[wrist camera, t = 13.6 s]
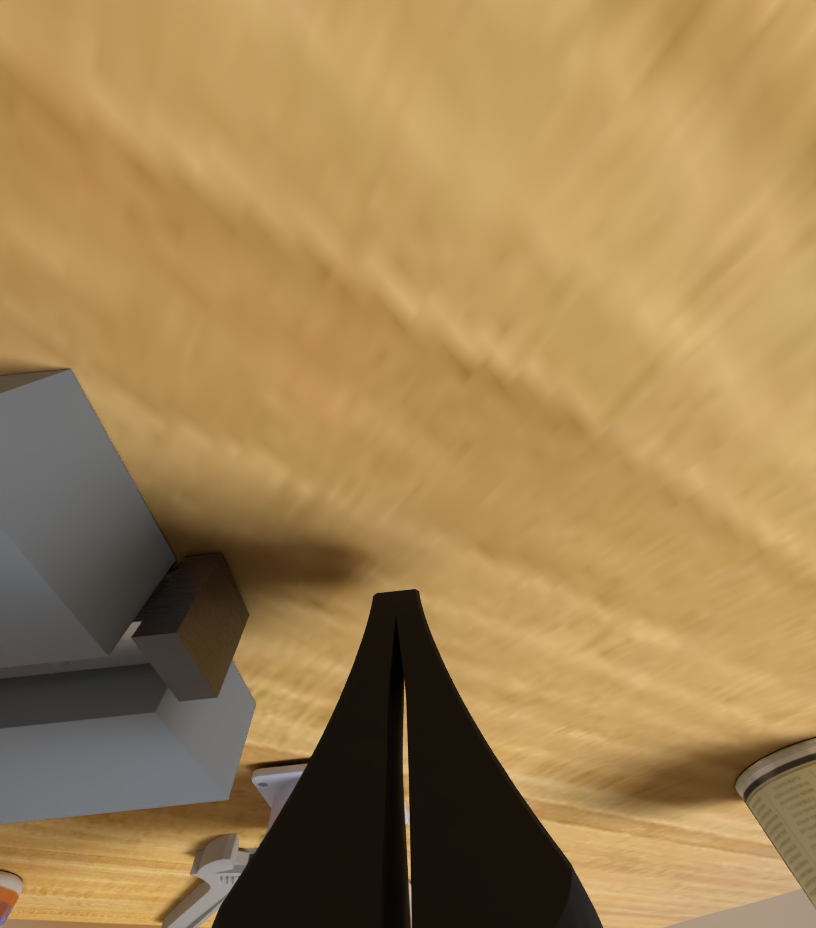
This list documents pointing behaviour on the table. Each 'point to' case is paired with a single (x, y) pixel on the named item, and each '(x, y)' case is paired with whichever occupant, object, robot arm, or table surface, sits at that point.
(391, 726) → the robot arm
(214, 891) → the adjustable wrench
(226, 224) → the table surface
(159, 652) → the lock pin
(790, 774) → the coffee can
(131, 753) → the mount board
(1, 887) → the pill bottle
